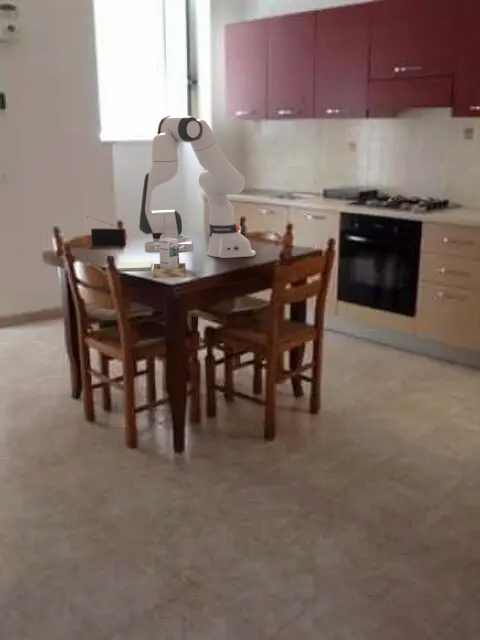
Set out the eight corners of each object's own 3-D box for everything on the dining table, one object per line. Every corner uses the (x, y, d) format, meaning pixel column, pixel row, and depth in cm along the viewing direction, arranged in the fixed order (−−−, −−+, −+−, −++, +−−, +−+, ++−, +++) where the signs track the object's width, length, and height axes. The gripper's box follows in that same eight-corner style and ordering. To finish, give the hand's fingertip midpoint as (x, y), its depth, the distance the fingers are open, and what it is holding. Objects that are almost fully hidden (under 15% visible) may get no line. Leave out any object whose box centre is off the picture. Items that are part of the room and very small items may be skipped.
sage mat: (152, 263, 320) (152, 260, 320) (150, 270, 306) (150, 267, 306) (119, 264, 319) (119, 261, 318) (117, 270, 305) (117, 268, 305)
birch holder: (185, 270, 306) (185, 263, 305) (185, 276, 294) (185, 269, 293) (154, 270, 305) (154, 263, 304) (153, 277, 293) (153, 270, 292)
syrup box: (169, 275, 295) (168, 240, 292) (159, 273, 299) (158, 238, 295) (179, 273, 300) (178, 238, 296) (170, 271, 303) (168, 237, 299)
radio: (126, 245, 366) (124, 215, 362) (124, 246, 363) (123, 216, 359) (90, 245, 367) (88, 215, 363) (88, 246, 365) (86, 216, 360)
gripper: (144, 237, 310) (142, 242, 297) (192, 236, 311) (193, 242, 298) (145, 252, 312) (143, 258, 298) (193, 251, 313) (193, 257, 300)
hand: (168, 250), depth 298 cm, fingers open, 8 cm apart
